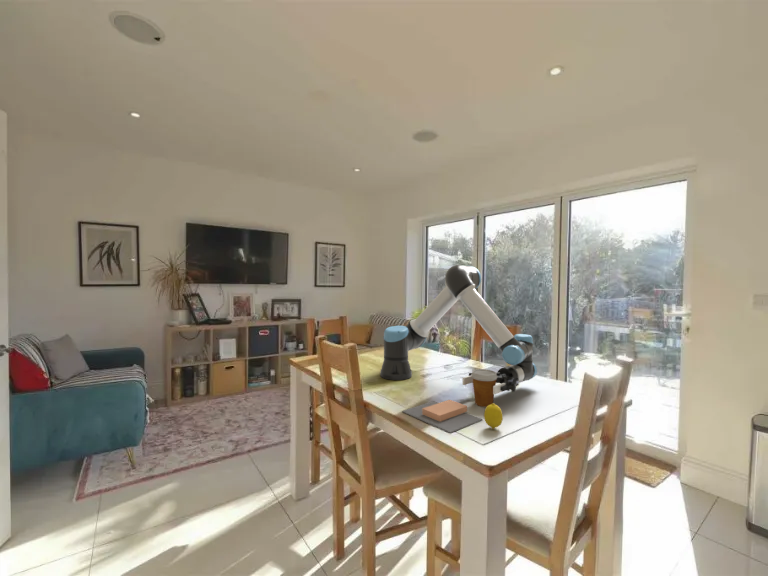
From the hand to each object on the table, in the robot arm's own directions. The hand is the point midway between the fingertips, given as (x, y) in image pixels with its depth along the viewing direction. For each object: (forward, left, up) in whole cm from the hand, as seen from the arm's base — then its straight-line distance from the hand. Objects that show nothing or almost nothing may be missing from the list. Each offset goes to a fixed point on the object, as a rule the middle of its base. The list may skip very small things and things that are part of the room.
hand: (477, 385), depth 131 cm
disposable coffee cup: (0, +3, -8) cm, 8 cm away
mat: (-2, -18, -7) cm, 19 cm away
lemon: (+15, -13, -8) cm, 21 cm away
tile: (-2, -9, -6) cm, 11 cm away
